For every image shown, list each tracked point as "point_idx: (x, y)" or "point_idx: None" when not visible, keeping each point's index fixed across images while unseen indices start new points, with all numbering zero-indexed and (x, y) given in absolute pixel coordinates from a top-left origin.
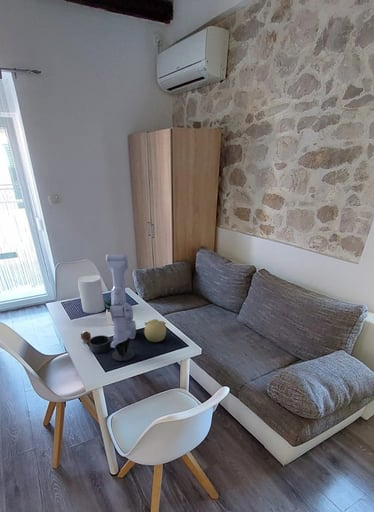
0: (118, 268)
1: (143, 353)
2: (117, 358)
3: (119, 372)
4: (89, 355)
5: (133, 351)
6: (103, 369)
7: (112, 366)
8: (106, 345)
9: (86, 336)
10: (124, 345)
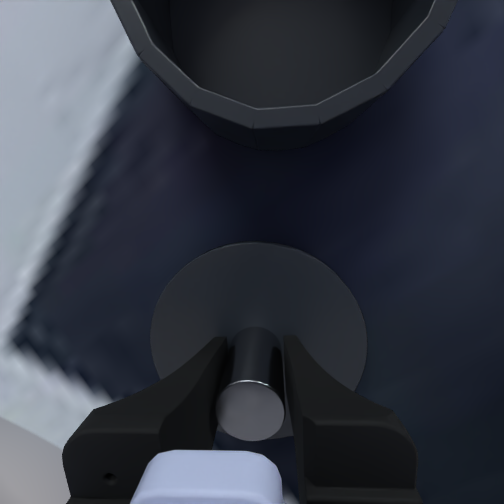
0: None
1: None
2: (171, 345)
3: (66, 428)
4: (94, 24)
5: None
6: (20, 310)
7: (90, 346)
8: (246, 134)
9: None
10: (295, 422)
